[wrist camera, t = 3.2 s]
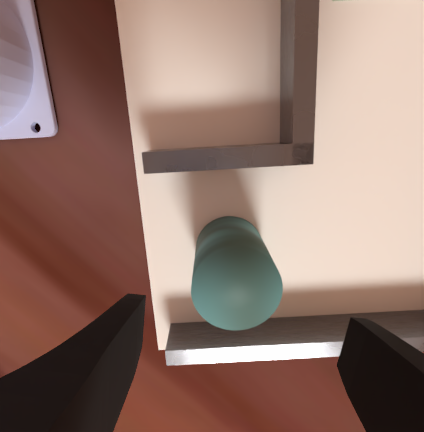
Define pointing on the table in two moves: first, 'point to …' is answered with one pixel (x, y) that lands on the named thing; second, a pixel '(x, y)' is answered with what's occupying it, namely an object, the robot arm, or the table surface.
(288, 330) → the guide walls
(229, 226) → the peg
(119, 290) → the table surface
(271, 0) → the maze board
